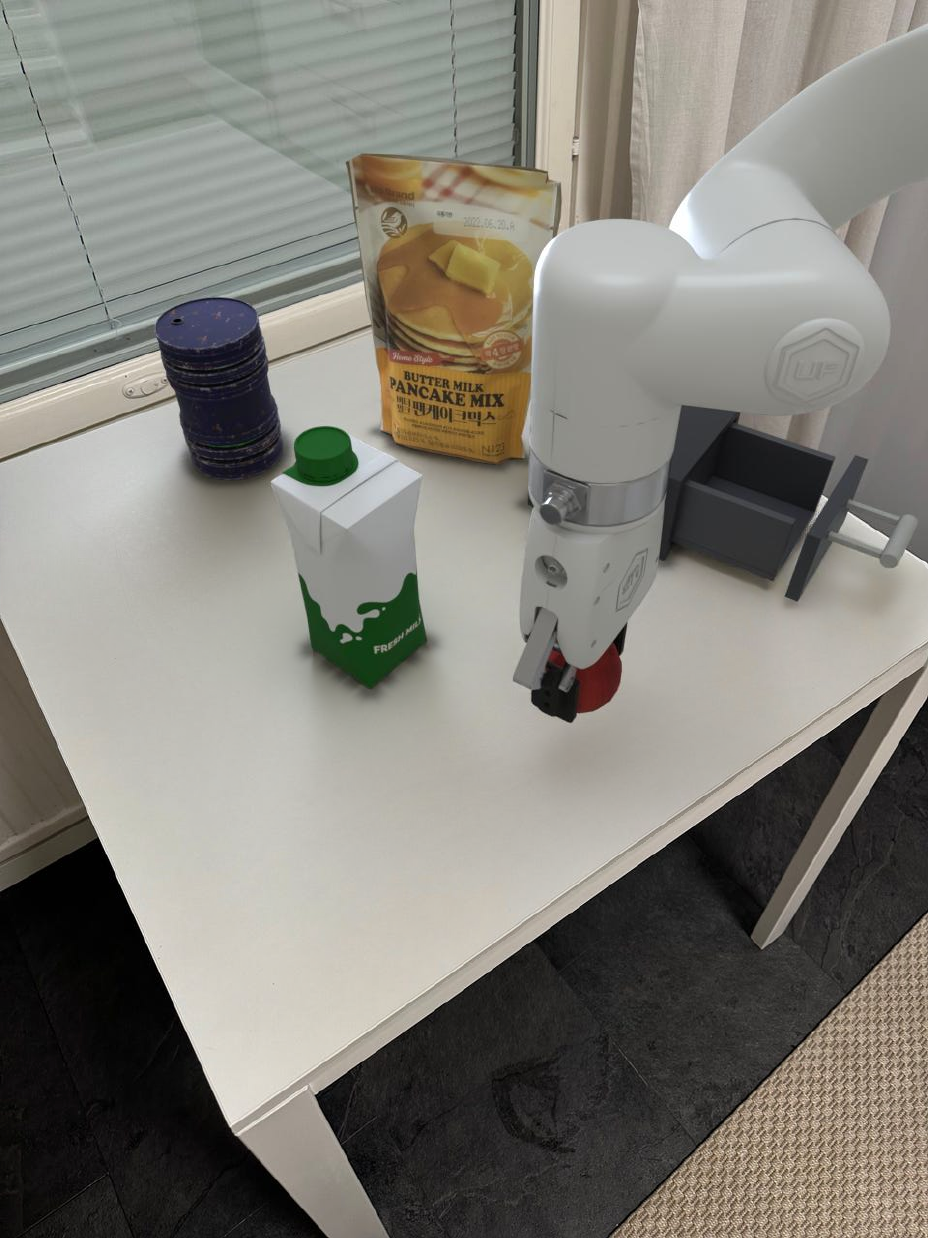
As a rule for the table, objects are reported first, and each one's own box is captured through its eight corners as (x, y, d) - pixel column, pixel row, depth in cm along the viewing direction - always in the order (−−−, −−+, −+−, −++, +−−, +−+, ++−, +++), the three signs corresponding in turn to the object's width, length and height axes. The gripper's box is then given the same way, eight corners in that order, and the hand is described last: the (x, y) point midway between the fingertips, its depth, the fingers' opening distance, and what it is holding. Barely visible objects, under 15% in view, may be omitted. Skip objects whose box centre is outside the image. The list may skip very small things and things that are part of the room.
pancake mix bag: (384, 406, 100) (360, 138, 80) (547, 438, 96) (567, 163, 75) (360, 440, 96) (328, 166, 75) (530, 475, 91) (545, 194, 71)
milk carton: (368, 592, 80) (344, 402, 66) (443, 641, 76) (435, 449, 61) (295, 648, 76) (251, 458, 61) (371, 703, 72) (343, 513, 57)
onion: (557, 660, 66) (563, 584, 60) (629, 690, 64) (642, 614, 58) (520, 715, 63) (522, 640, 57) (594, 749, 61) (604, 675, 55)
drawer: (907, 545, 82) (938, 482, 77) (866, 630, 75) (896, 567, 70) (709, 473, 90) (724, 411, 84) (654, 544, 83) (667, 481, 77)
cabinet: (722, 482, 90) (742, 404, 83) (664, 561, 83) (680, 481, 76) (593, 435, 96) (602, 358, 89) (527, 504, 88) (531, 426, 81)
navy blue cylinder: (294, 426, 98) (271, 298, 87) (272, 483, 91) (243, 351, 80) (206, 422, 98) (172, 294, 87) (177, 477, 92) (137, 346, 81)
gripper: (582, 591, 42) (563, 796, 55) (727, 409, 51) (681, 621, 64) (450, 534, 45) (462, 741, 58) (610, 372, 54) (589, 582, 67)
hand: (578, 676), depth 61 cm, fingers closed on onion, 5 cm apart
